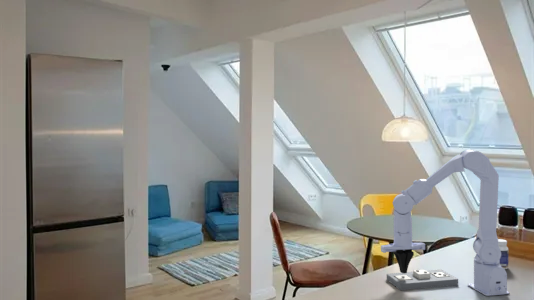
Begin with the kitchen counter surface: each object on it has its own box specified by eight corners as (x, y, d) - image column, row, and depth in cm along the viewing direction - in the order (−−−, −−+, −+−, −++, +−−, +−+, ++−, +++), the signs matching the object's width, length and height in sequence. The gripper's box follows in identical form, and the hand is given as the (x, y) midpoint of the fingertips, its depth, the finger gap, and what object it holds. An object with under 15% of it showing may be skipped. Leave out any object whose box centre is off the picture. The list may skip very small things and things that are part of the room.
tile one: (411, 284, 144) (411, 278, 144) (400, 285, 144) (400, 279, 144) (406, 280, 148) (405, 274, 148) (394, 281, 148) (394, 275, 148)
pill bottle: (511, 269, 158) (511, 242, 157) (495, 270, 158) (495, 242, 157) (503, 264, 163) (503, 238, 163) (487, 265, 164) (487, 238, 163)
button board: (458, 285, 144) (458, 279, 144) (400, 290, 141) (400, 283, 141) (441, 275, 154) (441, 269, 154) (386, 279, 150) (386, 273, 150)
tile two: (430, 279, 145) (430, 272, 145) (418, 280, 145) (418, 273, 145) (424, 275, 149) (424, 268, 149) (413, 276, 149) (412, 269, 149)
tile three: (448, 281, 147) (448, 275, 146) (437, 282, 146) (437, 276, 146) (442, 277, 150) (442, 271, 150) (431, 278, 150) (431, 272, 150)
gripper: (417, 227, 150) (417, 266, 151) (376, 230, 148) (377, 270, 149) (428, 232, 143) (428, 273, 144) (385, 235, 141) (386, 277, 142)
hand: (403, 272), depth 146 cm, fingers closed
